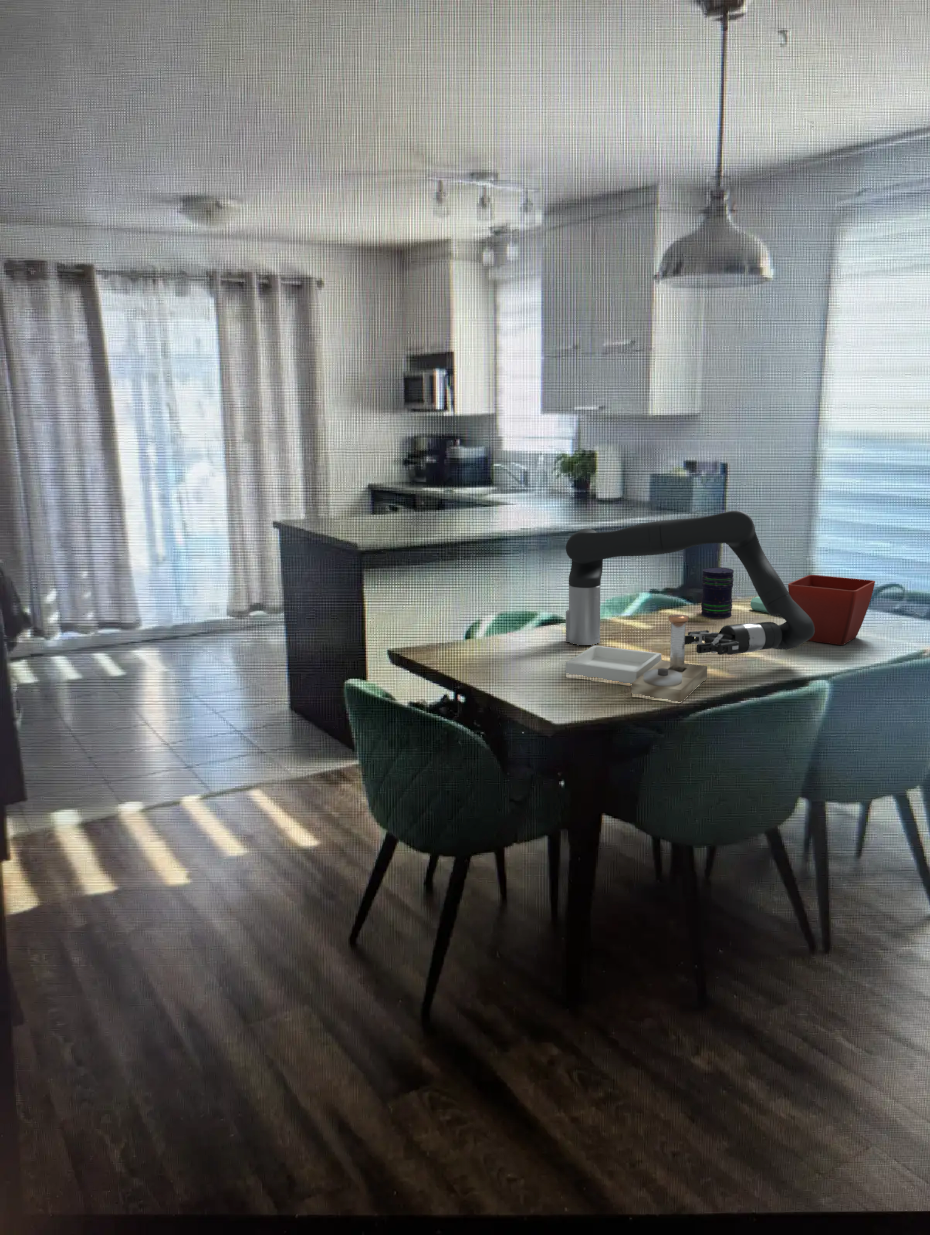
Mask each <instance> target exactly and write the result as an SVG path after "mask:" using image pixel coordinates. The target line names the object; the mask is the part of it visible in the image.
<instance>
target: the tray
mask: <svg viewBox="0 0 930 1235" xmlns="http://www.w3.org/2000/svg"><path fill="white" fill-rule="evenodd" d="M661 660H662V653H660V652H653V651H645V650H637V649H628V648H627V649H626V648H620V647H612V646H611V647H610V646H602V645H597V644H596V645H591V647H589V648H587V649H586V650H584V651H583V652H581V653H579V654H577V655H576V656H574V657H572V658H571V659H569V660H567V661H565V674H566V673H569V674H577V675H583V676H587V677H598V678H603V679H607V680H612V681H619V682H623V683H630V684H632V682H634V681H635V680H636V679H638V678H639V677H640V676H641V675H643V674H644V672H646V671H648V670H649V669H651V668H652V667H653V666H654V665H656V664H657V663H658V662H660V661H661Z"/></svg>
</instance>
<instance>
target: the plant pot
mask: <svg viewBox="0 0 930 1235" xmlns="http://www.w3.org/2000/svg"><path fill="white" fill-rule="evenodd" d="M875 585H876V581H875V580H871V579H863V578H851V577H841V576H832V575H831V576H830V575H818V574H817V575H816V574H808V575H805V576H803V577H801V578H799V579H796V580H794V581H791V582H790V583H788V584H787V591H788V592H789V594H790V596H791V598H792V599H793V600H794V601H795V602H796V603H797V604H798V605H799V606H800V607H801V608H802V609H803V610H804V611H805V612H806V614H807V615H808V616H809V617H810V618H811V620H812V621H813V624H814V628H815V632H814V635H813V637H812V638H811V639H809V640H808V642H809V641H810V642H817V643H825V644H831V645H839V646H843V645H845V644H847V643H849V642H850V641H852V640H854V639H855V638H857V636H858V634H859V632H860V629H861V628H862V625H863V623H864V621H865V617H866V615H867V612H868V609H869V606H870V603H871V599H872V598H873V597H872V596H873V592H874V589H875Z"/></svg>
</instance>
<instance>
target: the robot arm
mask: <svg viewBox="0 0 930 1235" xmlns="http://www.w3.org/2000/svg"><path fill="white" fill-rule="evenodd" d="M566 541H567V542H566V545H565V553H566V555H567V556H568V558H569V559H570V560H571V562H570V563H571V568H570V571H569V574H568V609H567V610H565V611H566V612H565V643H566V642H570V643H574V644H578V645H577V646H579V645H591V646H593V645H592V644H596V645H598V644H597V643H599V644H600V643H601V590H602V588H601V584H602V583H601V582H602V575H603V569H604V568H603V566H604V565H603V564H604V563H603V562H604V560H607V559H610V558H618V557H619V558H620V557H641V556H642V557H645V556H657V555H665V554H667V555H668V554H672V553H676V552H679V551H684V550H686V549H688V548H689V549H690V548H693V547H696V546H700V545H709V544H710V545H711V544H725V545H727V546H728V547H729V548H730V549H731V550H732V552H733V553H734V554H735V555H736V556H737V558H738V559H739V560H740V563H742V565H743V567H744V569H745V570H746V572H747V575H748V576H749V579H750V582H751V584H752V585H753V587H754V590H755V592H756V594H757V595H758V597H760V599H761V601H762V603H763V604H764V606H765V608H766V610H767V611H768V613H767V614H769V615H770V616H772V617H776V616H780V617H781V618H782V619H783V620H784V622H783V623H781V624H779V625H778V624H777V623H776V622H773V621H763V622H755V623H753V622H745V623H736V624H727V625H724V626H723V627H722V628H721V629H720V631H719V632H717V631H711V632H710V630H708V629H705V630H696V631H694V630H693V631H687V634H685V645H696V647H695V649H696V653H697V654H709V653H712V654H717V655H719V656H722V655H727V656H728V655H729V656H732V655H739V654H746V653H753V652H757V651H762V650H769V649H773V650H783V651H786V650H792V649H795V648H797V647H799V646H801V645H803V644H804V643H805V642H807V641H808V642H809V639H811V638H812V637H813V635H814V632H815V628H814V624H813V621H812V620H811V618H810V617H809V616H808V615H807V614H806V612H805V611H804V610H803V609H802V608H801V607H800V606H799V605H798V604H797V603H796V602H795V601H794V600H793V599H792V598H791V596H790V594H789V591H788V588H787V587H786V585H785V584H784V582H783V580H782V579H781V577H780V576H779V574H778V573H777V572H776V570H775V568H774V567H773V566H772V564H771V562H770V561H769V559H768V558H767V555H766V553H765V552H764V550H763V548H762V545H761V543H760V540H759V538H758V535H757V532H756V526H755V523H754V521H753V518H752V517H751V516H750V515H749V514H748V513H747V512H745V511H741V510H738V509H737V510H735V509H734V510H728V511H725V512H720V513H716V514H712V515H707V516H702V517H693V518H677V519H666V520H665V519H664V520H656V521H649V522H643V523H639V524H638V523H637V524H634V525H631V526H627V527H624V528H621V529H617V530H612V531H599V532H598V531H597V530H594V529H592V528H583V529H579V530H578V531H577V532H574V533H573V534H572V535H571V536H570V537H569V538H568V540H566ZM703 642H704V643H703ZM570 643H569V644H570Z"/></svg>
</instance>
